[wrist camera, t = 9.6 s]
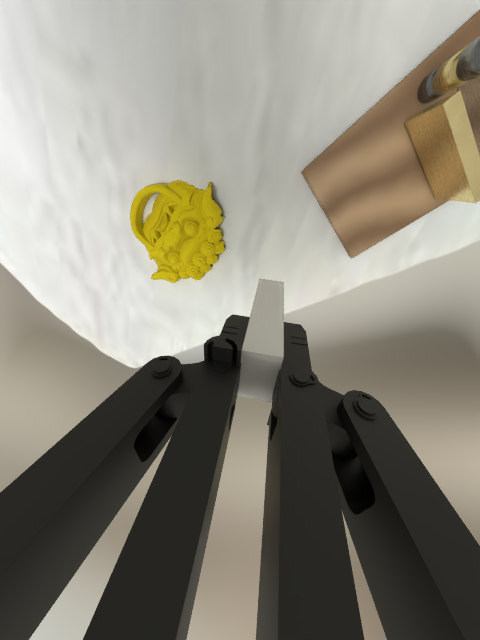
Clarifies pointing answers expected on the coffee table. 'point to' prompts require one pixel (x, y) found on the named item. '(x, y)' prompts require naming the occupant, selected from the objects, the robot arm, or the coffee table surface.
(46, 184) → the coffee table surface
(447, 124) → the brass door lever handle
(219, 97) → the coffee table surface
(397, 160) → the walnut board
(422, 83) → the fixed leaf
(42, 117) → the coffee table surface
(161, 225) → the door knocker
